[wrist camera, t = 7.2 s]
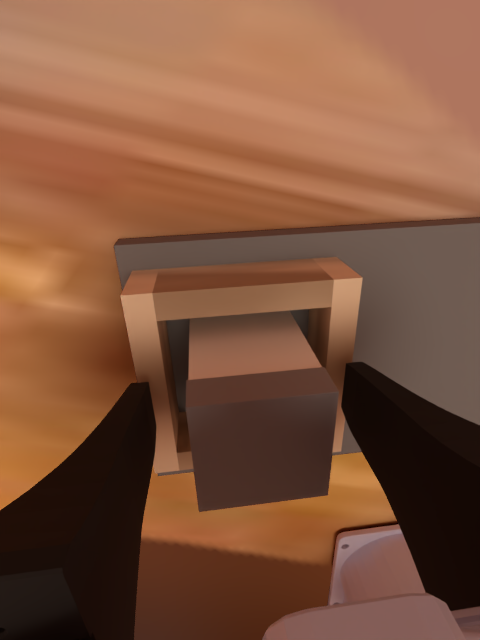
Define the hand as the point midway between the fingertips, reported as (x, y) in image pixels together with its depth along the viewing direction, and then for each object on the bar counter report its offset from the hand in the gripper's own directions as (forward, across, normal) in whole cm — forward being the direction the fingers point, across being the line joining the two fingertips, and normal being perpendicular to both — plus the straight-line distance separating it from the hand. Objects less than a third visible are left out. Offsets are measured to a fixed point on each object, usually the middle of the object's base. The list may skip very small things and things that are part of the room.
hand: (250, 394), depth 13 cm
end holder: (+4, 0, 0) cm, 4 cm away
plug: (+3, 0, 0) cm, 3 cm away
